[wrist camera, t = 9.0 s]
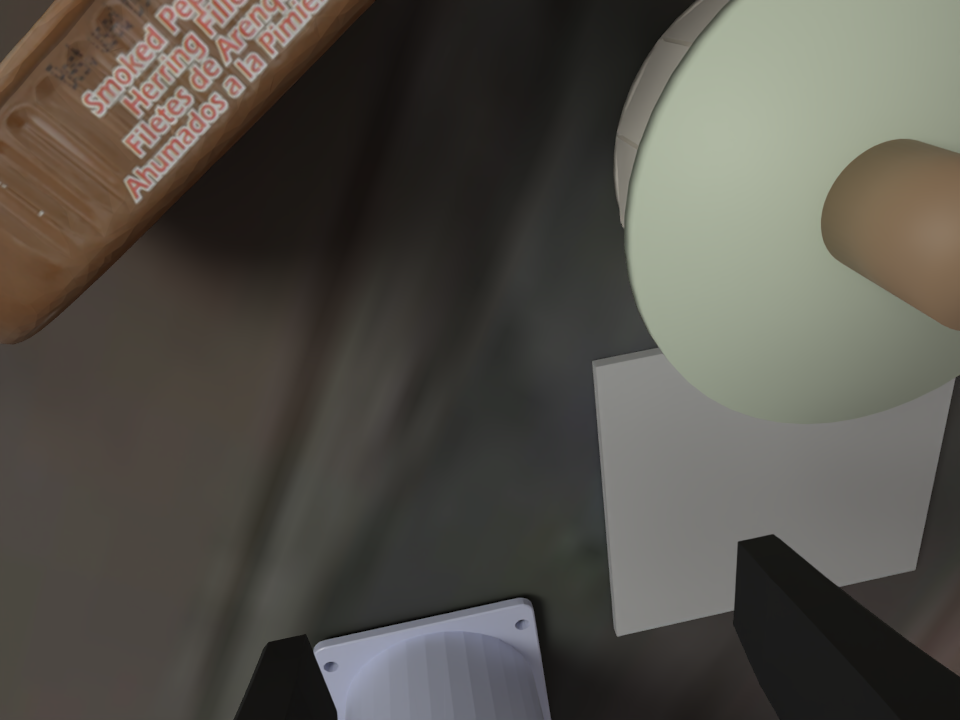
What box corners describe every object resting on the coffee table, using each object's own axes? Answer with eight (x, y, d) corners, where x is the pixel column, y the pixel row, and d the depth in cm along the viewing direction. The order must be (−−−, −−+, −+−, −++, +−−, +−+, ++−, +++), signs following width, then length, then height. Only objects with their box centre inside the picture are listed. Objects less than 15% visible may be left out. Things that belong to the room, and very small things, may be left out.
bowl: (905, 266, 22) (1022, 330, 18) (620, 323, 22) (678, 401, 18) (957, -73, 18) (1126, -85, 14) (601, -11, 17) (671, -5, 13)
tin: (458, -357, 14) (566, -724, 7) (555, -199, 15) (733, -354, 8) (-16, 170, 17) (-299, 321, 10) (100, 261, 18) (-71, 453, 11)
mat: (908, 562, 28) (915, 569, 28) (613, 628, 28) (616, 636, 27) (964, 285, 23) (973, 290, 22) (592, 360, 22) (596, 367, 22)
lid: (1045, 361, 19) (1190, 445, 15) (636, 451, 18) (697, 557, 15) (1179, -146, 13) (1448, -184, 10) (606, -40, 13) (690, -44, 10)
